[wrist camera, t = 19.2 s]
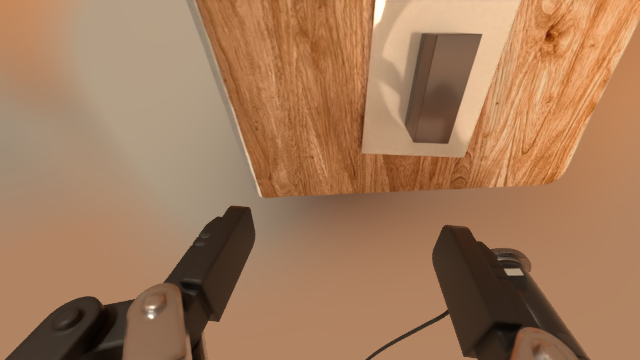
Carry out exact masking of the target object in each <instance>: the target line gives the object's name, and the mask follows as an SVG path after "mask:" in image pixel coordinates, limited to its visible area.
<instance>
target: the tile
mask: <svg viewBox="0 0 640 360" xmlns="http://www.w3.org/2000/svg"><path fill="white" fill-rule="evenodd" d="M520 3H521V0H375V1H374V12H373V23H372V34H371V45H370V56H369V67H368V78H367V89H366V100H365V111H364V122H363V134H362V145H361V153H364V154H388V155H412V156H436V157H460V158H464V156H465V153H466V151H467V148H468V145H469V142H470V140H471V137H472V134H473V132H474V129H475V126H476V123H477V121H478V118H479V115H480V112H481V110H482V107H483V104H484V101H485V99H486V96H487V93H488V90H489V88H490V85H491V82H492V80H493V77H494V74H495V71H496V69H497V66H498V63H499V60H500V58H501V55H502V52H503V49H504V47H505V44H506V41H507V38H508V36H509V33H510V30H511V28H512V25H513V22H514V19H515V17H516V14H517V11H518V8H519V6H520ZM422 33H476V34H482V38H481V41H480V44H479V47H478V50H477V54H476V57H475V60H474V63H473V66H472V70H471V73H470V76H469V79H468V82H467V86H466V89H465V92H464V95H463V98H462V102H461V105H460V108H459V111H458V114H457V117H456V121H455V124H454V127H453V130H452V133H451V137H450V140H449V143H448V144H437V143H413V141H412V139H411V137H410V135H409V133H408V131H407V129H406V127H405V119H406V114H407V109H408V104H409V99H410V93H411V88H412V83H413V78H414V73H415V67H416V62H417V57H418V52H419V47H420V41H421V36H422Z"/></svg>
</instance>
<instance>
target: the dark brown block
mask: <svg viewBox="0 0 640 360" xmlns="http://www.w3.org/2000/svg"><path fill="white" fill-rule="evenodd" d="M481 38H482V34H476V33H422V36H421V41H420V47H419V52H418V57H417V62H416V67H415V73H414V78H413V83H412V88H411V93H410V99H409V104H408V109H407V114H406V119H405V127H406V129H407V131H408V133H409V135H410V137H411V139H412V141H413V143H437V144H448V143H449V140H450V137H451V133H452V130H453V127H454V124H455V121H456V117H457V114H458V111H459V108H460V105H461V102H462V98H463V95H464V92H465V89H466V86H467V82H468V79H469V76H470V73H471V70H472V66H473V63H474V60H475V57H476V54H477V50H478V47H479V44H480V41H481Z"/></svg>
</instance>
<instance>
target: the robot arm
mask: <svg viewBox="0 0 640 360" xmlns="http://www.w3.org/2000/svg"><path fill="white" fill-rule="evenodd" d="M254 241H255V229H254V224H253V219H252V214H251V210H250V208H249V207H242V206H230V207H229V208H228V209H227V211H226V212H225V214H224V215H223V217H216V218H215V219H213V220H212V221H211V222H209V223H208V224H207V225H206V226H205V227H204V229H203V230H202V231H201V233H200V234H199V237H197V238H196V240H195V241H194V242H193V245H192V246H191V247H190V248H189V249H188V251H187V252H186V253H185V255H184V256H183V257H182V259H181V260H180V262H179V263H178V264H177V266H176V267H175V268H174V270H173V271H172V273H171V274H170V275H169V277H168V278H167V279H166V280H165V282H164V283H162V284H158V285H155V286H152V287H150V288H149V289H147V290H145V291H144V292H143V293H141V294H140V295H139V296H138V297H137V298H136V299H133V300H129V301H124V302H118V303H113V304H108V305H103V304H102V303H101V302H100V301H99V300H98V299H96V298H95V297H90V296H89V297H82V298H77V299H75V300H72V301H70V302H68V303H66V304H64V305H62V306H61V307H59V308H58V309H56V310H55V311H54V312H52V313H51V314H50V315H49V316H48V317H47V318H46V319H45V320H44V321H43V322H42V323H41V324H40V325H39V326H38V327H37V328H36V329H35V330H34V331H33V332H32V333H31V334H30V335H29V336H28V337H27V338H26V339H25V340H24V341H23V342H22V343H21V344H20V345H19V346H18V347H17V348H16V349H15V350H14V351H13V352H12V353H11V354H10V355H9V356H8V357H7V358H6V359H5V360H208V356H207V349H206V343H205V337H204V332H203V330H204V328H205V326H206V324H207V322H208V321H216V322H219V321H220V319H221V316H222V314H223V312H224V310H225V308H226V305H227V303H228V301H229V298H230V296H231V294H232V292H233V290H234V287H235V285H236V283H237V281H238V279H239V276H240V274H241V272H242V270H243V267H244V265H245V263H246V261H247V259H248V256H249V254H250V252H251V250H252V248H253V245H254ZM432 260H433V266H434V269H435V272H436V275H437V278H438V281H439V284H440V287H441V290H442V293H443V296H444V299H445V302H446V305H447V308H448V310H447V311H446V312H444V313H443V314H441V315H440V316H438V317H436V318H434V319H433V320H430V321H428V322H426V323H425V324H423V325H421V326H419V327H417V328H415V329H414V330H411V331H410V332H408V333H406V334H404V335H402V336H400V337H398V338H397V339H395V340H394V341H391V342H390V343H388V344H387V345H385V346H384V347H382V348H380V349H379V350H377V351H376V352H374V353H373V354H372V355H371V356H369V357H368V358H367V359H366V360H370V359H371V358H373V357H374V356H375V355H377V354H378V353H380V352H381V351H383V350H384V349H386V348H388V347H389V346H391V345H393V344H395V343H396V342H398V341H400V340H402V339H404V338H406V337H408V336H410V335H411V334H413V333H415V332H417V331H419V330H421V329H423V328H425V327H427V326H428V325H431V324H433V323H435V322H437V321H438V320H440V319H442V318H444V317H445V316H447V315H448V314H450V317H451V320H452V323H453V326H454V329H455V332H456V335H457V338H458V340H459V344H460V347H461V350H462V353H463V356H464V357H471V358H477V359H478V360H590V359H589V357H588V356H587V354H586V353H585V352H584V350H583V349H582V347H581V346H580V344H579V343H578V342H577V340H576V339H575V338H574V336H573V335H572V333H571V332H570V330H569V329H568V328H567V326H566V325H565V323H564V322H563V321H562V319H561V318H560V316H559V315H558V313H557V312H556V311H555V309H554V308H553V306H552V305H551V304H550V302H549V301H548V299H547V298H546V296H545V295H544V294H543V292H542V291H541V289H540V288H539V287H538V285H537V284H536V282H535V281H534V279H533V278H532V277H531V275H530V274H529V272H528V271H527V270H526V267H525V266H524V264H523V263H522V262H521V261H519V260H517V259H515V258H510V257H498V258H497V257H496V255H495V254H494V253H493V252H492V251H491V250H490V249H489V248H488V247H487V246H486V245H484V244H483V243H482V242H479V241H476V240H475V238H474V237H473V235H472V233H471V231H470V230H469V229H468V228H467V227H462V226H452V225H445V226H444V227H443V228H442V230H441V233H440V235H439V238H438V240H437V242H436V245H435V247H434V249H433V254H432Z"/></svg>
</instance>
